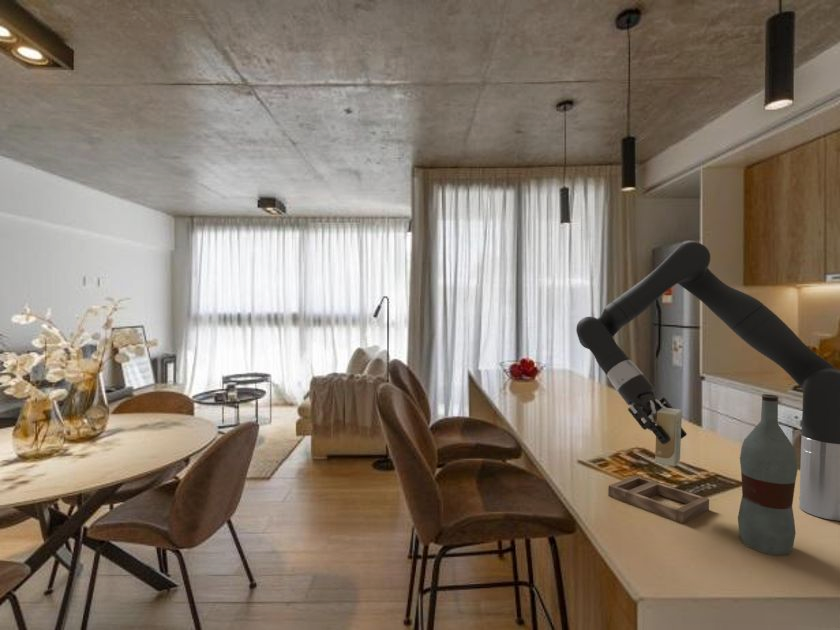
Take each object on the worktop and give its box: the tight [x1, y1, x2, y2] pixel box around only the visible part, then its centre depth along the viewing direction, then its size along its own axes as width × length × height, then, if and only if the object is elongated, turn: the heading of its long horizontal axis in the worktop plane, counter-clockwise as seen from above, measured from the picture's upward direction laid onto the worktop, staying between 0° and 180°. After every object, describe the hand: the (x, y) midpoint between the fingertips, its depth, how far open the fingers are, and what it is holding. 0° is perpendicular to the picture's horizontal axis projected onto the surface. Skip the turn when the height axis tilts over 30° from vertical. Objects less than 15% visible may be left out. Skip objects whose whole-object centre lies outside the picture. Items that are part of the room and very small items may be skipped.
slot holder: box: [607, 475, 710, 524], centre depth 115 cm, size 18×12×2 cm
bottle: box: [737, 393, 799, 556], centre depth 95 cm, size 9×9×30 cm
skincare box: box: [654, 408, 683, 467], centre depth 113 cm, size 6×4×12 cm
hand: (675, 439), depth 112 cm, fingers closed on skincare box, 7 cm apart
